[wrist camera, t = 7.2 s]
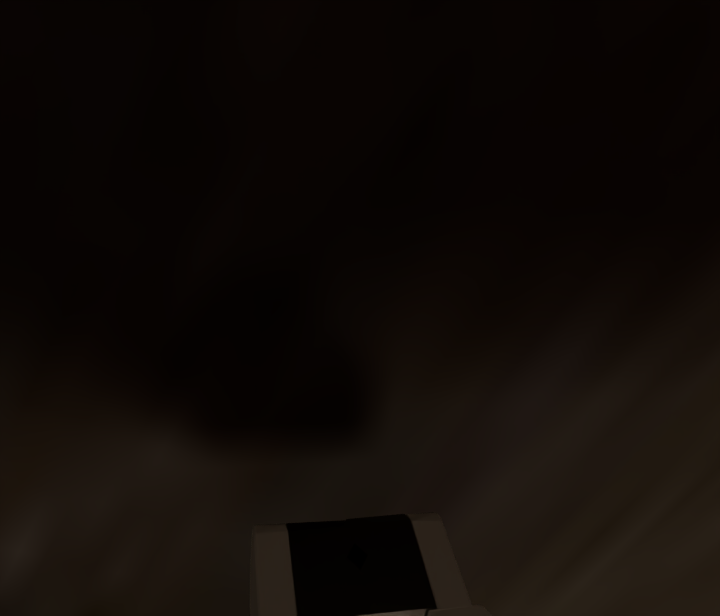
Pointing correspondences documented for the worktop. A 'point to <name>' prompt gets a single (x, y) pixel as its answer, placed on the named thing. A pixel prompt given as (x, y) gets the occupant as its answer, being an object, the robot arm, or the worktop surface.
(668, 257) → the worktop surface
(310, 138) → the worktop surface
